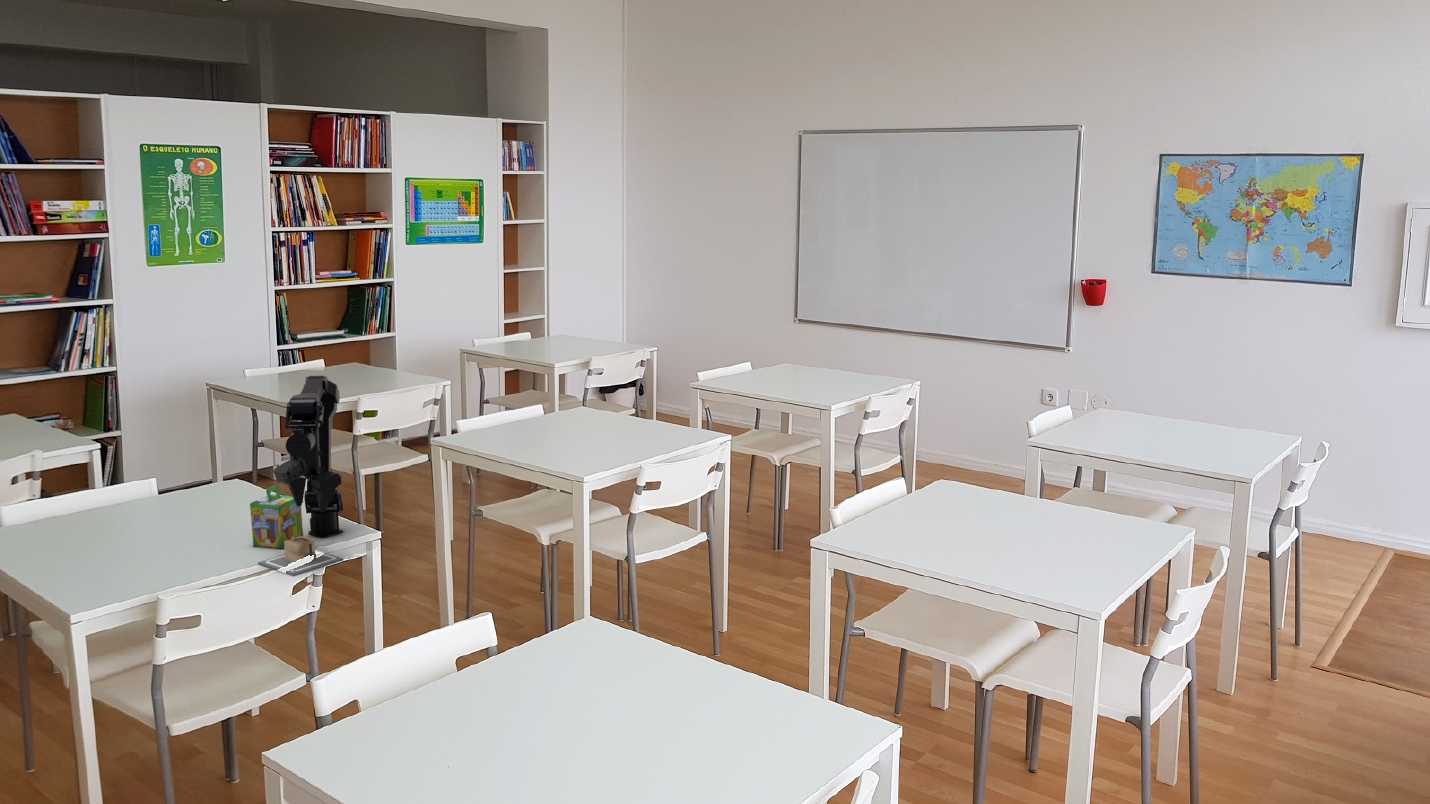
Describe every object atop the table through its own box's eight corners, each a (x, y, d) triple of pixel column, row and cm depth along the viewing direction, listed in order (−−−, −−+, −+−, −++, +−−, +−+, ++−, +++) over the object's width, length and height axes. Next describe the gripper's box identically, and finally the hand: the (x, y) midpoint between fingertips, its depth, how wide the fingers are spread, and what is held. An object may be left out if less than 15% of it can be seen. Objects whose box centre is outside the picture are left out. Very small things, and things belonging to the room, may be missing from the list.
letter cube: (303, 555, 274) (301, 535, 273) (316, 559, 271) (314, 539, 270) (285, 560, 270) (284, 540, 269) (298, 565, 267) (297, 544, 266)
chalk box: (283, 549, 280) (279, 493, 277) (251, 546, 282) (247, 490, 280) (305, 538, 289) (301, 484, 286) (274, 535, 291) (270, 481, 288)
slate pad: (308, 549, 280) (308, 547, 280) (343, 560, 272) (343, 557, 272) (258, 564, 269) (258, 561, 269) (293, 576, 261) (293, 573, 261)
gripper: (254, 448, 269) (258, 510, 272) (301, 459, 259) (305, 523, 262) (294, 440, 278) (298, 500, 281) (341, 450, 268) (345, 512, 271)
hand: (310, 509), depth 274 cm, fingers open, 9 cm apart
